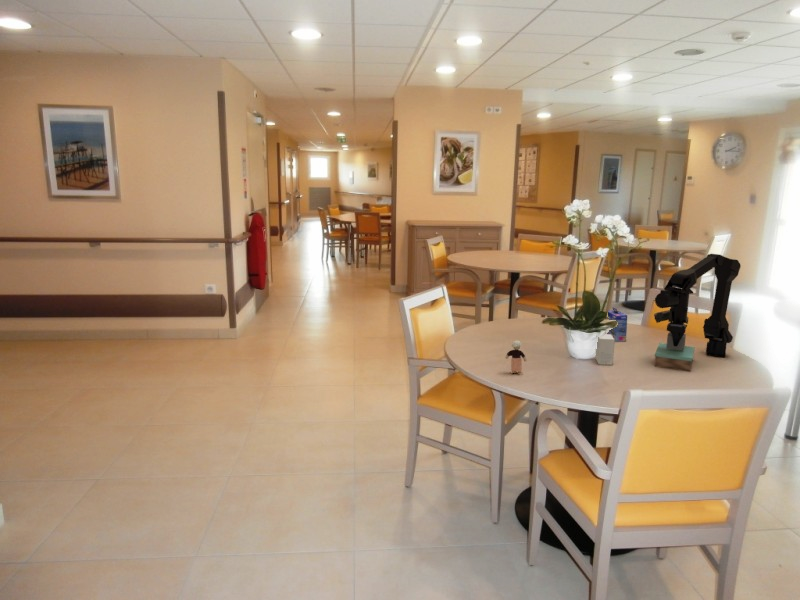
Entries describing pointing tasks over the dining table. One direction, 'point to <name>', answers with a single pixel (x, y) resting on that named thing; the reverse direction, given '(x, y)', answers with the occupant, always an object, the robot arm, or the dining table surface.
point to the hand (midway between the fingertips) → (675, 344)
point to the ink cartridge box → (621, 328)
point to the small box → (605, 350)
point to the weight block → (680, 344)
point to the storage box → (673, 363)
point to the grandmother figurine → (516, 357)
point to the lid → (675, 352)
